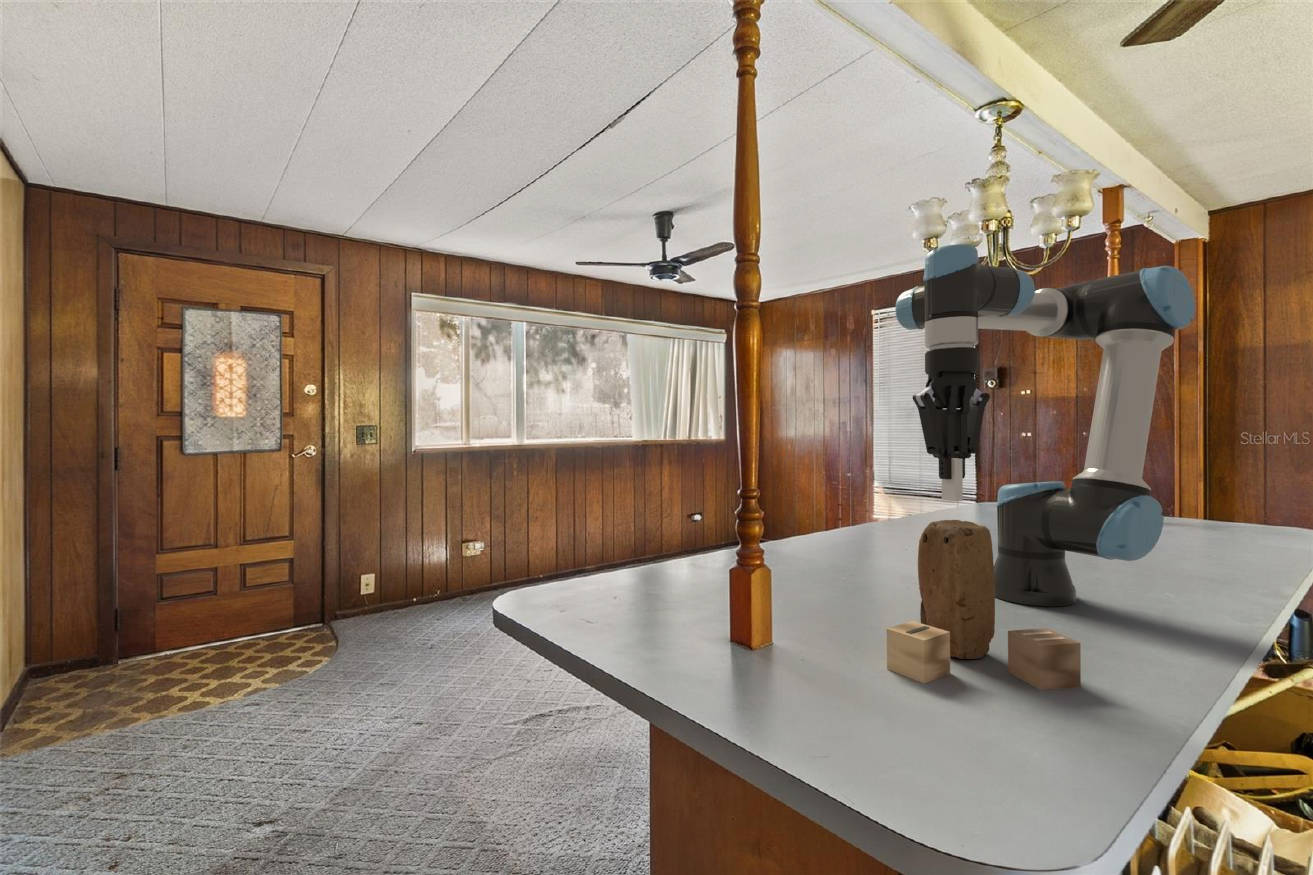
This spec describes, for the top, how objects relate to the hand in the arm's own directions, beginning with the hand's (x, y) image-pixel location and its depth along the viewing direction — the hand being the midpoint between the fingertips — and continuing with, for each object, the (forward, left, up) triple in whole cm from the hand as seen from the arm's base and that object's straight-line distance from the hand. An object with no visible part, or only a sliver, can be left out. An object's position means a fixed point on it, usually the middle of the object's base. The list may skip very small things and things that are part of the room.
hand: (952, 500), depth 95 cm
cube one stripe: (+11, +5, -24) cm, 26 cm away
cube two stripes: (-3, +13, -24) cm, 27 cm away
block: (0, 0, -24) cm, 24 cm away
